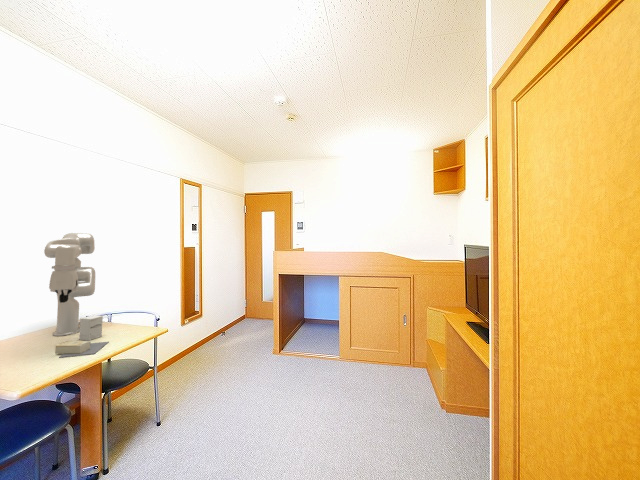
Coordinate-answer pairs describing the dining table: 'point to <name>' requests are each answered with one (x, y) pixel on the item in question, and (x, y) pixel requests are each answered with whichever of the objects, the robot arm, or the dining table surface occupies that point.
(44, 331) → the dining table surface
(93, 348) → the mat
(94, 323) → the supplement box
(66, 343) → the skincare box
